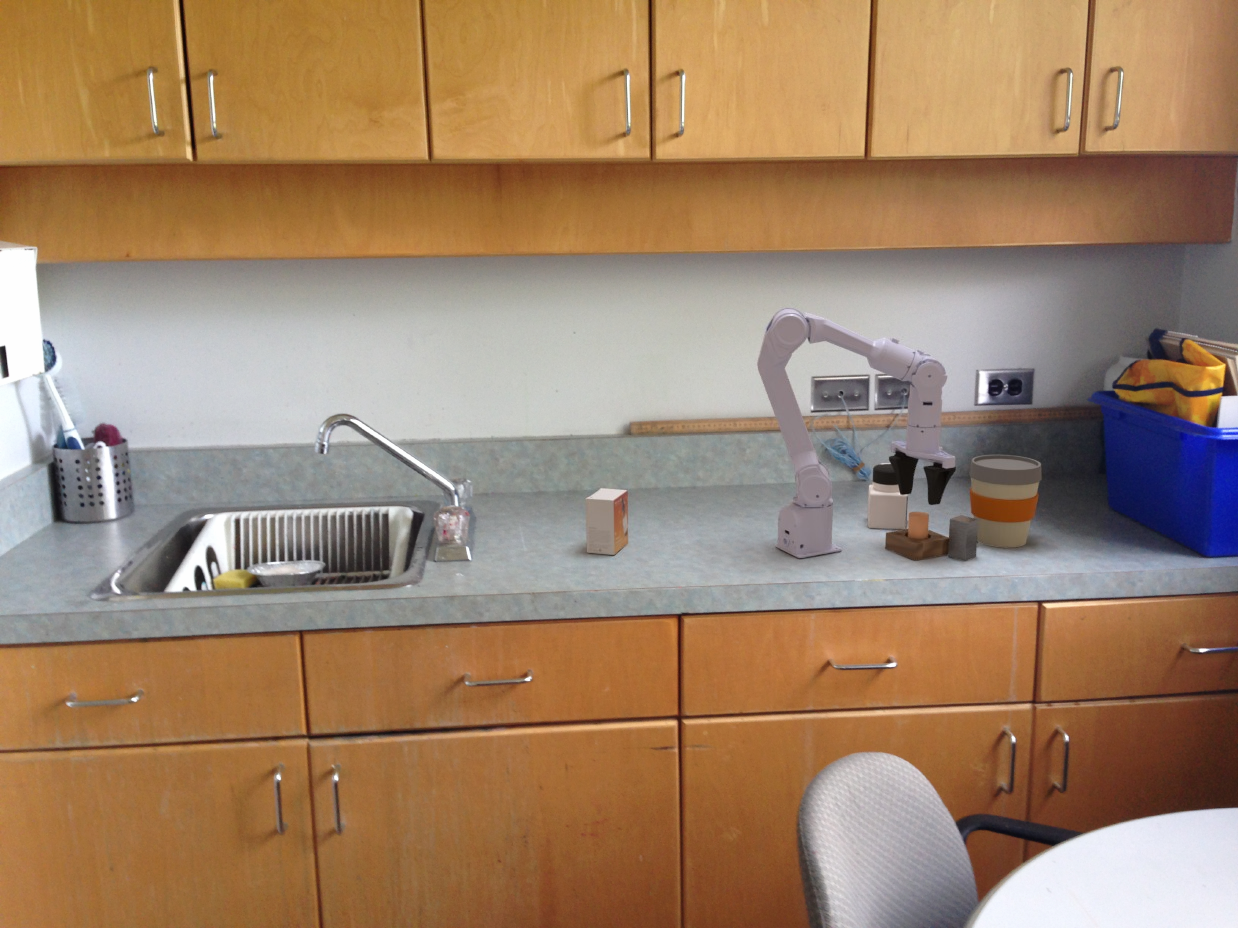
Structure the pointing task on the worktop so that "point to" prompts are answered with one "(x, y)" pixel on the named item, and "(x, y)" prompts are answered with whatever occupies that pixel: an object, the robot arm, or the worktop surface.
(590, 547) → the small box
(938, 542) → the bore block
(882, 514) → the medicine bottle
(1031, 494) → the reusable coffee cup
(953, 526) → the square bit
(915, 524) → the round bit
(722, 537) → the worktop surface
